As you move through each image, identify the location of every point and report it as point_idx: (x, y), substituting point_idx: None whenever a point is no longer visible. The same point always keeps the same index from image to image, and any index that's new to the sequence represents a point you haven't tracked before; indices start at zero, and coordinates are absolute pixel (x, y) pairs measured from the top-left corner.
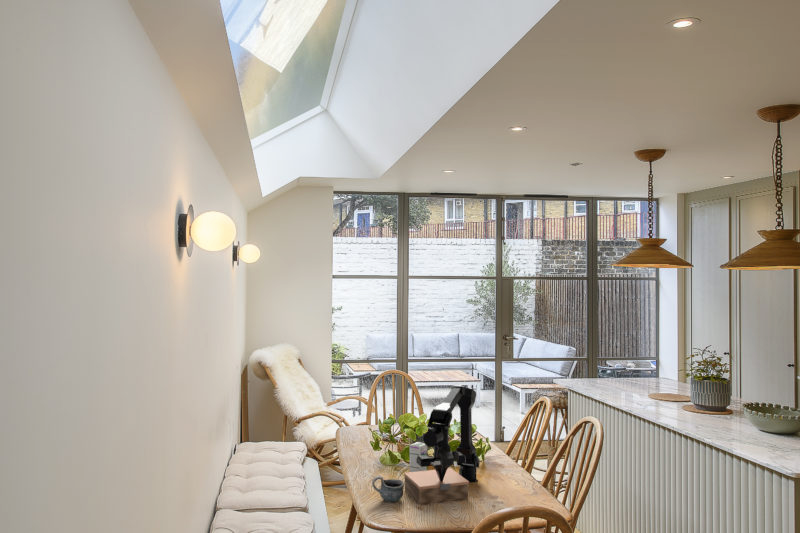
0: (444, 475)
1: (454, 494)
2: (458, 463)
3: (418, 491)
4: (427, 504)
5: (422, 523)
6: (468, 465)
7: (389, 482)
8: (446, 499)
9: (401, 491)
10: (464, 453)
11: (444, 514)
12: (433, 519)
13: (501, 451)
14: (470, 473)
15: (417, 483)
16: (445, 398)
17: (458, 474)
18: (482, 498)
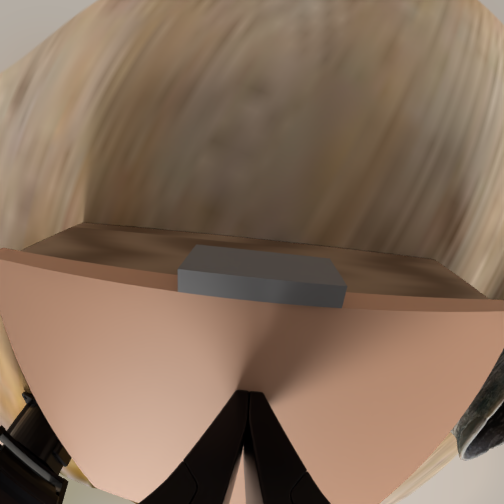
0: (203, 440)
1: (157, 246)
2: (60, 484)
3: None
4: (390, 254)
5: (497, 38)
6: (23, 452)
7: (477, 443)
8: (241, 243)
9: (501, 362)
10: (10, 499)
11: (369, 41)
12: (449, 31)
13: None
14: (30, 425)
15: (473, 391)
16: None
17: (52, 424)
18: (19, 214)
